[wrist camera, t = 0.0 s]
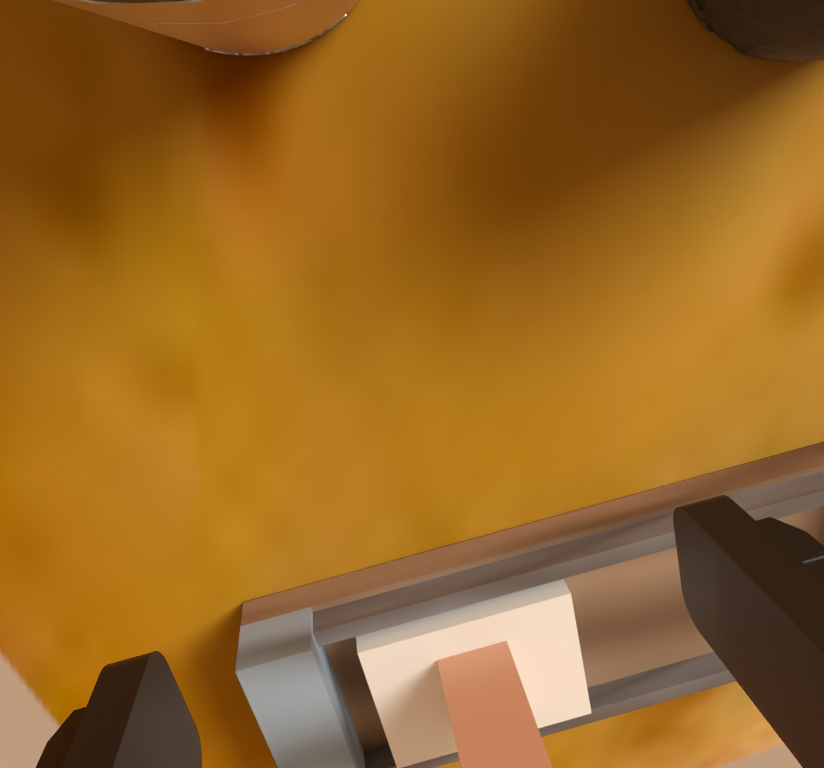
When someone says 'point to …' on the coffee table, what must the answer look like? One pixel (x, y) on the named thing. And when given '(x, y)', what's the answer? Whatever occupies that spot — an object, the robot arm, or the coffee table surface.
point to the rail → (500, 575)
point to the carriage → (479, 679)
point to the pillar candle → (767, 26)
